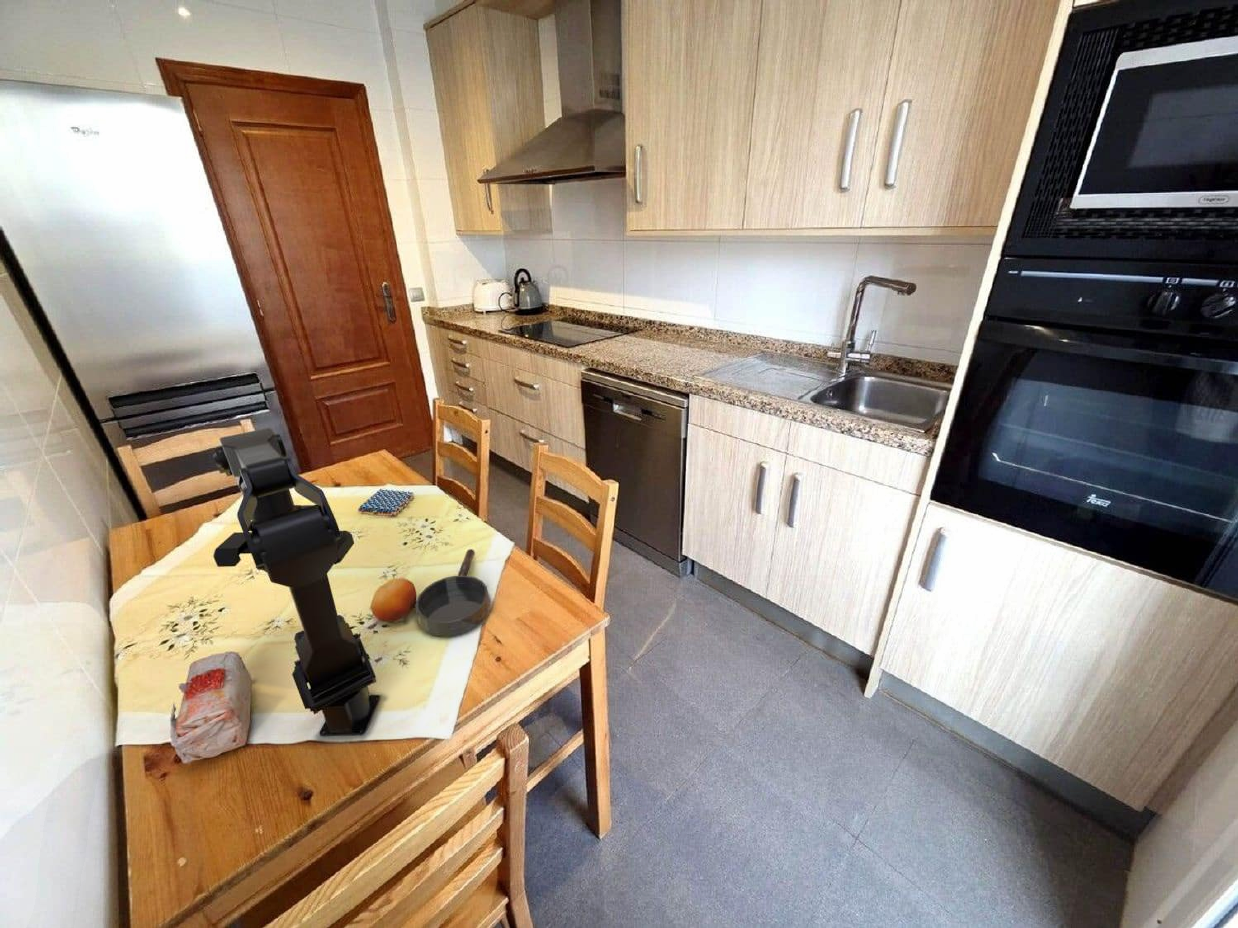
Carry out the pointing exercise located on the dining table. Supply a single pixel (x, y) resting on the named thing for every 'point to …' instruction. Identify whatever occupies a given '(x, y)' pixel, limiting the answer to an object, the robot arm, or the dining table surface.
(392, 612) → the fruit
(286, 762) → the dining table surface
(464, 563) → the pan handle
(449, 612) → the pan
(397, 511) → the woven mat
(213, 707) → the food item
